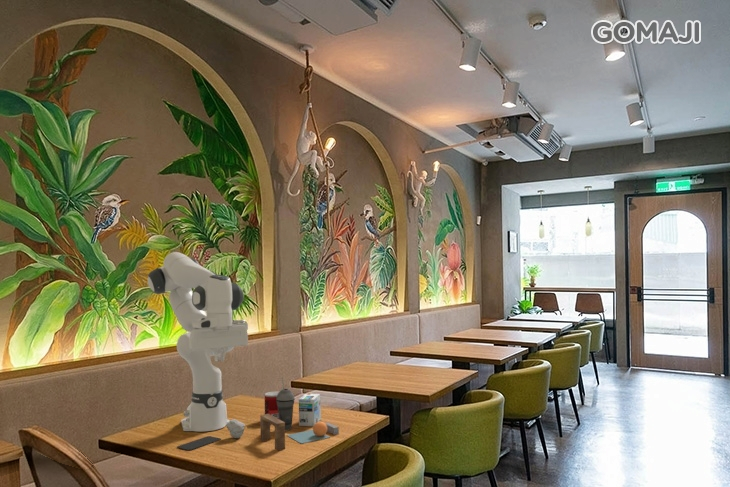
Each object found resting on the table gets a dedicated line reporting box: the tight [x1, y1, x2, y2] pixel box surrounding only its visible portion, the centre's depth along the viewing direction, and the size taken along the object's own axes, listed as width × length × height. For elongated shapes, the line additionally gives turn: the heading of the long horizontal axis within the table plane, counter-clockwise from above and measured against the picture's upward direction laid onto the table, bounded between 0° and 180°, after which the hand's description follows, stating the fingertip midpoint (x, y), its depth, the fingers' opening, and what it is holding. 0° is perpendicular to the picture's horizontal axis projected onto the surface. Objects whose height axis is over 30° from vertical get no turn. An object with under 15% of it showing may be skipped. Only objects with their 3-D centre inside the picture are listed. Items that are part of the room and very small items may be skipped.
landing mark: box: [286, 429, 331, 445], centre depth 199 cm, size 12×12×1 cm
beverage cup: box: [276, 377, 295, 432], centre depth 209 cm, size 7×7×20 cm
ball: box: [312, 420, 328, 437], centre depth 199 cm, size 5×5×5 cm
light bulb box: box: [298, 393, 322, 427], centre depth 218 cm, size 11×7×11 cm, turn 170°
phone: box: [176, 435, 222, 452], centre depth 193 cm, size 7×1×15 cm
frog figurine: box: [226, 418, 246, 439], centre depth 199 cm, size 6×7×7 cm
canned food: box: [264, 390, 281, 419], centre depth 223 cm, size 8×8×11 cm
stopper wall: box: [324, 422, 340, 436], centre depth 205 cm, size 8×2×2 cm, turn 34°
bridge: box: [259, 413, 286, 451], centre depth 191 cm, size 3×14×9 cm, turn 34°
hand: (219, 361), depth 185 cm, fingers closed
